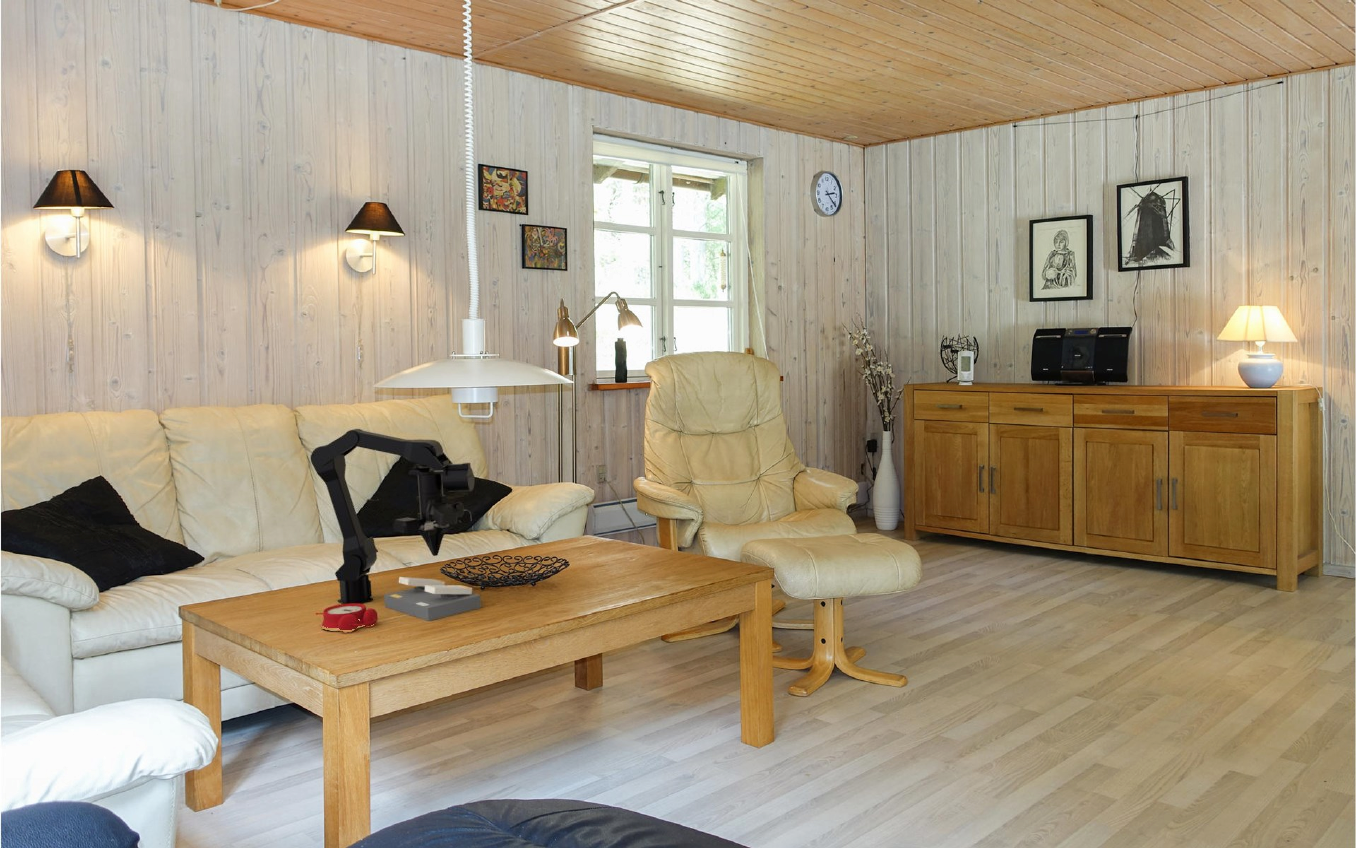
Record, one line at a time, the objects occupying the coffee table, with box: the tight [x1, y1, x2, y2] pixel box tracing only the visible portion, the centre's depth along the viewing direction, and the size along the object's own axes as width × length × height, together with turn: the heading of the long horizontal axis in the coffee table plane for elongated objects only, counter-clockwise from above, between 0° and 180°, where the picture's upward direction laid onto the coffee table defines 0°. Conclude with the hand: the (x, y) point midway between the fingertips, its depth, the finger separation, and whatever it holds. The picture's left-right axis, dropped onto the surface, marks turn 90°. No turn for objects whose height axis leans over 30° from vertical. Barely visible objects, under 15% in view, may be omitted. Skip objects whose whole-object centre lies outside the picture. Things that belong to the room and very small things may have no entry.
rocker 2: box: [425, 584, 473, 594], centre depth 238 cm, size 10×4×2 cm, turn 134°
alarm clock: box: [315, 603, 378, 630], centre depth 228 cm, size 10×6×15 cm
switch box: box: [383, 586, 482, 622], centre depth 242 cm, size 14×20×4 cm
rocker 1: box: [398, 576, 446, 587], centre depth 247 cm, size 10×4×2 cm, turn 134°
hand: (435, 555), depth 248 cm, fingers closed
